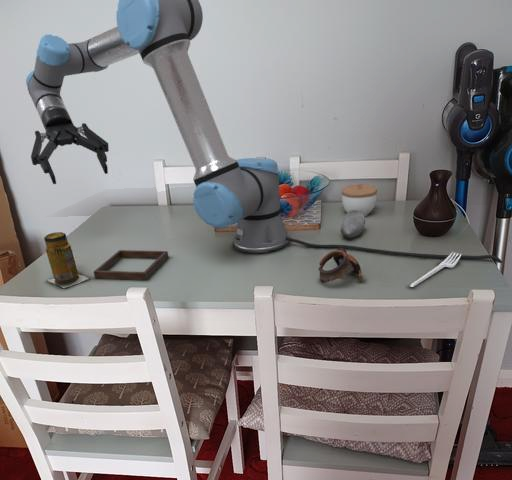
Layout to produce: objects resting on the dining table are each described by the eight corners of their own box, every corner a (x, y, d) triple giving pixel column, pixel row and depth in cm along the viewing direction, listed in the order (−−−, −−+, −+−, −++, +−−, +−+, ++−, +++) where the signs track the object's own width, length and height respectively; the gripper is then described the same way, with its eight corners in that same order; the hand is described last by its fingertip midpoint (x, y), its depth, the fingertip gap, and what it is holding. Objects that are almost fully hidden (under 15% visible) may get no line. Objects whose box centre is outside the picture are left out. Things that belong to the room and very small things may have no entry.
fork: (404, 286, 118) (405, 278, 117) (450, 258, 129) (450, 251, 128) (417, 290, 116) (418, 282, 115) (462, 261, 127) (463, 254, 126)
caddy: (168, 257, 144) (167, 251, 143) (146, 280, 132) (145, 273, 131) (120, 256, 147) (119, 250, 146) (95, 278, 135) (93, 271, 134)
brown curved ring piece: (367, 289, 119) (352, 264, 114) (330, 304, 123) (313, 281, 118) (363, 256, 127) (348, 232, 122) (328, 272, 131) (312, 249, 126)
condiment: (72, 271, 141) (60, 228, 134) (89, 279, 135) (77, 234, 129) (47, 281, 136) (33, 237, 130) (64, 289, 131) (50, 244, 125)
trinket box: (335, 212, 166) (335, 182, 161) (366, 206, 168) (367, 177, 164) (350, 221, 157) (351, 190, 152) (382, 216, 160) (384, 185, 155)
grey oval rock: (334, 234, 141) (343, 204, 140) (341, 235, 154) (348, 208, 153) (357, 239, 140) (366, 209, 138) (362, 241, 153) (370, 213, 151)
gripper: (100, 121, 151) (127, 175, 145) (10, 136, 142) (33, 195, 135) (99, 99, 145) (126, 155, 138) (4, 113, 136) (28, 174, 129)
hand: (80, 175), depth 137 cm, fingers open, 13 cm apart
